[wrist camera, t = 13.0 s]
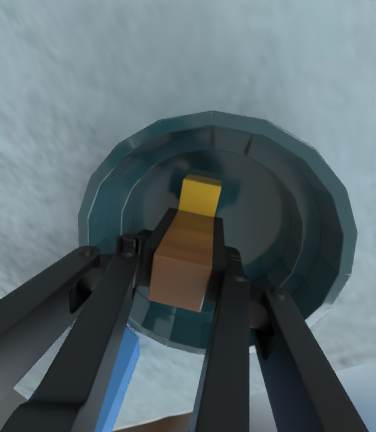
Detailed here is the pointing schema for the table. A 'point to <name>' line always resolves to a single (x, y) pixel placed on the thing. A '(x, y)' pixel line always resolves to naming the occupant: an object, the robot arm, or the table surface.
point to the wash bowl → (228, 212)
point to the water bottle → (118, 381)
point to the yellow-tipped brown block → (187, 247)
